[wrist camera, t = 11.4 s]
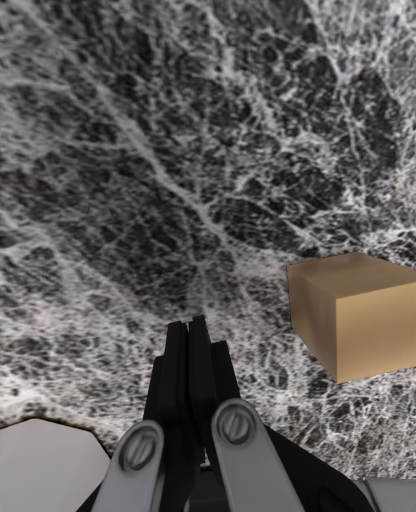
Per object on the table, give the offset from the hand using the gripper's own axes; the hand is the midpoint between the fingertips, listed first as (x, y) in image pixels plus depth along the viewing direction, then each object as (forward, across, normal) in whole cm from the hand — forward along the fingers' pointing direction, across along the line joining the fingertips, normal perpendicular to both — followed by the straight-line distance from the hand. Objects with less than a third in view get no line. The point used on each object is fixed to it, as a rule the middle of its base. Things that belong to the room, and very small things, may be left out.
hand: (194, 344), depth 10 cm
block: (+4, -9, +2) cm, 10 cm away
